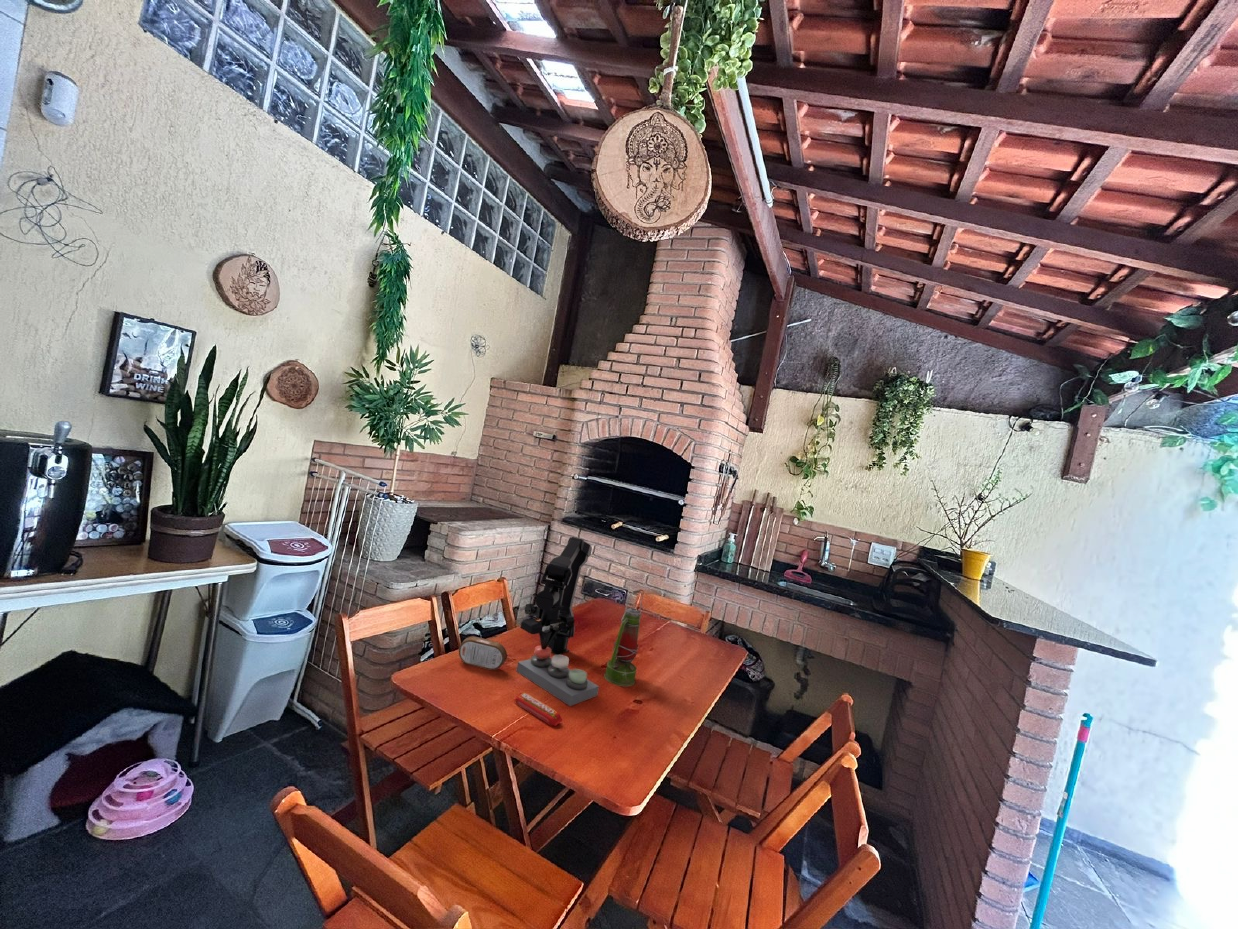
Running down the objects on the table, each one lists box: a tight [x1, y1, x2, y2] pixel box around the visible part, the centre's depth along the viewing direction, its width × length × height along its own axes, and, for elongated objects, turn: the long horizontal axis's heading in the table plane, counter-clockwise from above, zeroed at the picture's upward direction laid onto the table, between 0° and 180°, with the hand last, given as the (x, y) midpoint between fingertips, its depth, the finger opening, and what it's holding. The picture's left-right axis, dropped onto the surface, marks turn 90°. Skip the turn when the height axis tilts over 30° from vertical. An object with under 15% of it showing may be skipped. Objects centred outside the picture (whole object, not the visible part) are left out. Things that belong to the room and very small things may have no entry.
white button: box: [551, 654, 570, 668], centre depth 162 cm, size 5×5×2 cm
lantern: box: [603, 589, 644, 687], centre depth 174 cm, size 14×11×30 cm
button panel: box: [516, 654, 600, 707], centre depth 162 cm, size 12×24×4 cm, turn 51°
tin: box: [458, 636, 508, 671], centre depth 163 cm, size 15×3×8 cm, turn 84°
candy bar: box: [513, 692, 563, 727], centre depth 142 cm, size 16×4×3 cm, turn 55°
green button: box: [569, 668, 588, 684], centre depth 157 cm, size 5×5×2 cm
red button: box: [533, 644, 552, 659], centre depth 167 cm, size 5×5×2 cm
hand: (543, 648), depth 167 cm, fingers closed, pressing on red button
